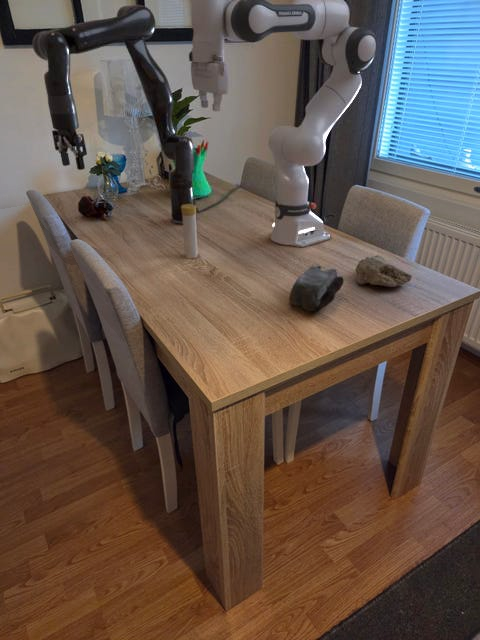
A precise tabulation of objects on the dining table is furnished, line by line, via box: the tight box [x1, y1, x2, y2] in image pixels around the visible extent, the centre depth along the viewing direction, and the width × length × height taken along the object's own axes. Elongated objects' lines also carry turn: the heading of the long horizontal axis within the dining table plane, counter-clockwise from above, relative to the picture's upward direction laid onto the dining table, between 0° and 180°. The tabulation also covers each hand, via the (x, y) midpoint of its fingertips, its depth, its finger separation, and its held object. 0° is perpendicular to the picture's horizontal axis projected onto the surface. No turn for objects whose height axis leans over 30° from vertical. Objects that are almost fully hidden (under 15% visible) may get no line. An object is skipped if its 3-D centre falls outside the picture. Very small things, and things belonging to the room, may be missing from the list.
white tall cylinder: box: [182, 213, 199, 259], centre depth 150 cm, size 4×4×17 cm
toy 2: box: [168, 137, 212, 200], centre depth 210 cm, size 20×20×25 cm
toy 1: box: [77, 195, 115, 221], centre depth 185 cm, size 12×9×15 cm
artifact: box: [355, 255, 413, 288], centre depth 137 cm, size 18×7×15 cm
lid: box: [181, 204, 197, 215], centre depth 146 cm, size 5×5×2 cm
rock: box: [288, 265, 345, 313], centre depth 125 cm, size 18×11×8 cm, turn 152°
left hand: (73, 167), depth 141 cm, fingers open, 8 cm apart
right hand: (210, 109), depth 132 cm, fingers open, 8 cm apart
